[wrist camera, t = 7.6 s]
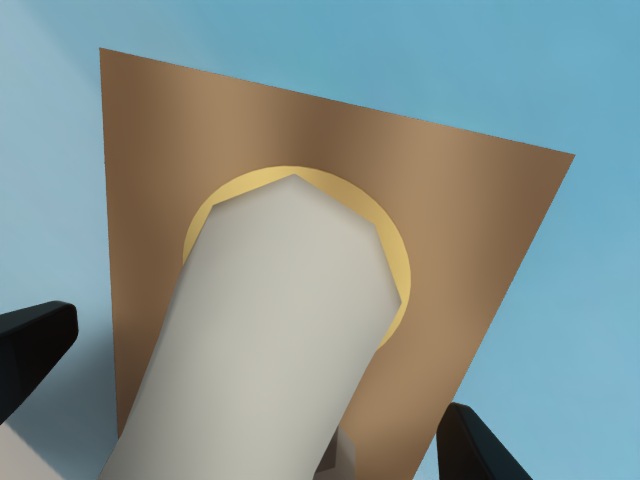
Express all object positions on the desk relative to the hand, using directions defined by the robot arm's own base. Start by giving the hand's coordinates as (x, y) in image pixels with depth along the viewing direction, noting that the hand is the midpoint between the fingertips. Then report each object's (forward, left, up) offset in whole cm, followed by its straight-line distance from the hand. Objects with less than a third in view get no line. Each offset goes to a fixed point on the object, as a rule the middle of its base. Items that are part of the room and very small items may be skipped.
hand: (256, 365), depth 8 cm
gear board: (0, -4, -6) cm, 7 cm away
